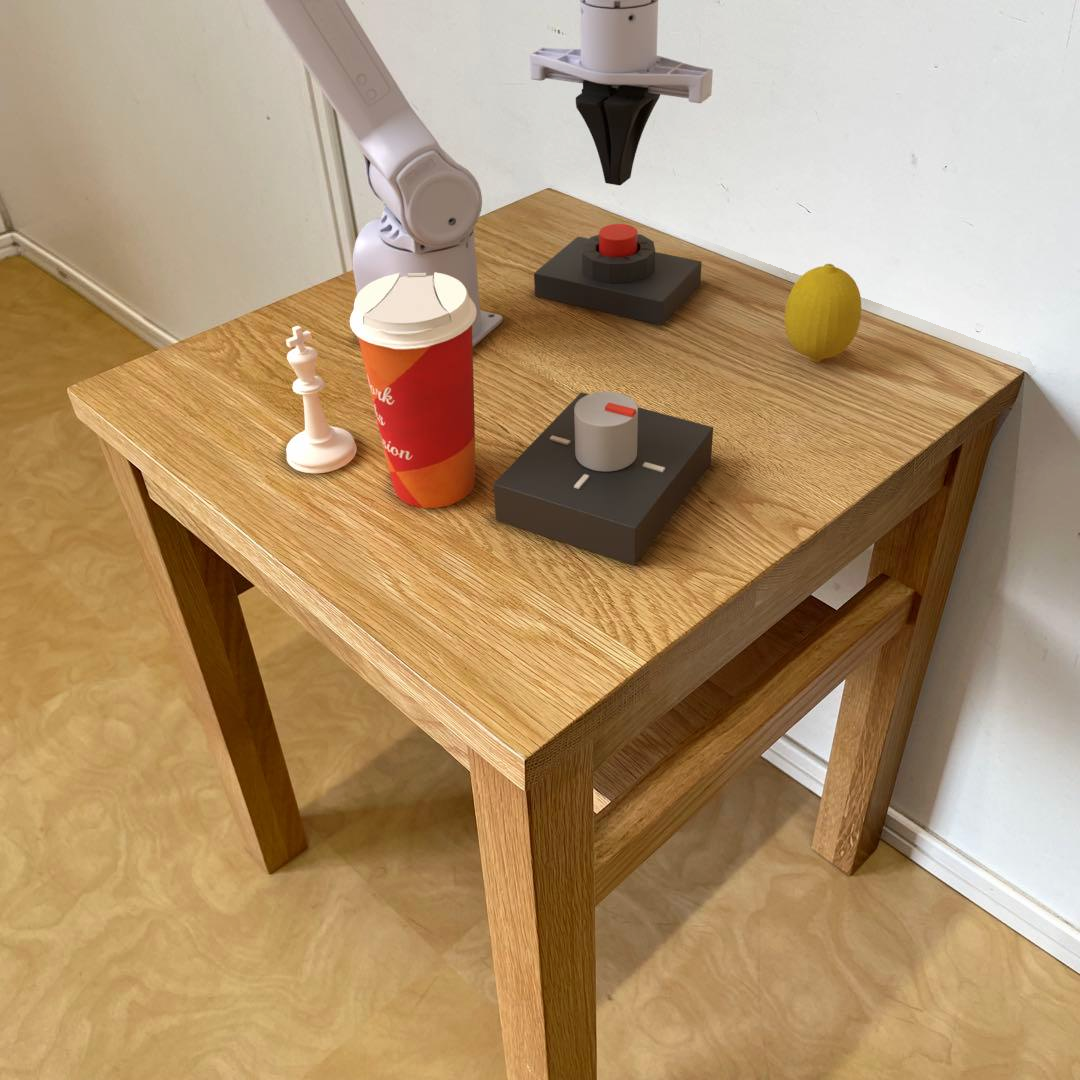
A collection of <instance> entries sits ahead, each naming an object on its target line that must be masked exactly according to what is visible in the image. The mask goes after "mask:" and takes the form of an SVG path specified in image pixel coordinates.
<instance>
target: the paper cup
mask: <svg viewBox="0 0 1080 1080" xmlns="http://www.w3.org/2000/svg"><path fill="white" fill-rule="evenodd" d="M353 303H354V304H353V310H352V312H351V313H350V317H349V325H350V329H351V331H352V332H353V333H354V334H355V336H356V337H357V336H358V338H357V340H358V343H359V348H360V351H361V356H362V360H363V363H364V368H365V369H364V370H365V374H366V378H367V382H368V387H369V390H370V396H371V399H372V403H373V408H374V409H373V410H374V412H375V417H376V422H377V425H378V431H379V434H380V439H381V444H382V447H383V451H384V456H385V461H386V465H387V468H388V473H389V476H390V480H391V484H392V488H393V490H394V493H395V495H396V496H397V497H398V499H399V500H401V501H402V502H403V503H405V504H407V505H409V506H412V507H416V508H421V509H437V508H443V507H448V506H451V505H453V504H456V503H458V502H461V501H462V500H464V499H465V498H467V496H468V495H469V494H470V493H471V492H472V491H473V489H474V487H475V483H476V425H475V424H476V423H475V421H476V420H475V386H474V385H475V383H474V352H473V351H474V349H473V348H474V346H473V344H472V324H473V322H474V320H475V318H476V315H477V310H476V306H475V304H474V303H473V301H472V300H471V298H470V297H469V295H468V292H467V289H466V288H465V287H464V285H463V284H462V283H461V282H460V281H459V280H457V279H455V278H453V277H451V276H448V275H445V274H441V273H436V272H435V273H434V279H433V275H429V276H426V273H408V276H400V273H397V274H393V275H389V276H385V277H383V278H380V279H377V280H375V281H373V282H371V283H370V284H368V285H366V286H365V287H364V288H363V289H361V291H360V292H359V293H358V295H357V294H356V297H355V298H354V302H353Z"/></svg>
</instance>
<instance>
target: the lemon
mask: <svg viewBox="0 0 1080 1080" xmlns="http://www.w3.org/2000/svg"><path fill="white" fill-rule="evenodd" d="M861 318H862V297H861V293H860V290H859V287H858V285H857V283H856V281H855V280H854V278H853V277H852V276H851V275H850V274H849V273H848V272H847V271H844V270H843V269H841V268H839V267H836V266H835V265H834V264H832V263H825V264H824V265H822V266H817V267H814V268H811V269H809V270H807V271H806V272H805V273H804V274H802V275H800V277H798V279H797V280H796V281H795V283H794V285H793V287H792V288H791V290H790V293H789V295H788V297H787V301H786V305H785V307H784V330H785V334H786V337H787V339H788V341H789V343H790V344H791V346H792V347H793V348H794V349H795V351H797V352H798V353H799V354H801V355H803V356H804V357H806V358H809V359H810V360H811V361H812V362H815V363H819V362H821V361H823V360H826V359H830V358H833V357H836V356H838V355H839V354H841V353H842V352H844V351H845V350H846V349H847V348H848V347H849V346H850V345H851V343H852V342H853V340H854V339H855V337H856V336H857V333H858V331H859V327H860V324H861Z"/></svg>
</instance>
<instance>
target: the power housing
mask: <svg viewBox="0 0 1080 1080" xmlns="http://www.w3.org/2000/svg"><path fill="white" fill-rule="evenodd" d="M702 265H703V261H701V260H697V259H693V258H687V257H683V256H677V255H672V254H667V253H662V252H658V251H656V247H655V242H654V241H653V240H651V238H648V237H647V236H645V235H643V234H639V233H637V253H636V254H633V255H630V256H627V257H614V258H613V257H609V256H604V255H602V254H600V253H599V234H596V235H593V236H590V237H589V238H588V237H583V236H576V237H575V238H574V239H573V240H571V241H570V242H569V243H568V244H567V245H566V246H564V247H563V248H562V249H561V250H559V251H558V253H556V254H554V256H553V257H551V259H549V260H548V261H546V262H545V263H544V264H542V265H541V267H539V268H538V269H537V270H536V271H535V272H534V273H533V280H534V281H533V283H534V297H537V298H542V299H546V300H550V301H554V302H559V303H563V304H567V305H571V306H576V307H581V308H585V309H589V310H593V311H598V312H603V313H607V314H611V315H615V316H619V317H623V318H628V319H633V320H637V321H640V322H641V321H642V322H647V323H650V324H655V325H658V326H663V325H664V324H665V323H666V322H667V320H669V319H670V317H672V316H673V314H674V313H675V312H676V311H677V310H678V309H679V308H680V307H681V306H682V305H683V304H684V302H685V301H687V300H688V299H689V297H690V296H691V295H692V294H693V293H694V292H695V291H696V290H697V289H698V288H699V287H700V286H701V281H702Z"/></svg>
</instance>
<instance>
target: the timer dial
mask: <svg viewBox="0 0 1080 1080" xmlns="http://www.w3.org/2000/svg"><path fill="white" fill-rule="evenodd" d="M588 394H589V395H587V396H584V397H583V398H581V399H580V400H579V401H578V402H577V403H576V405H575V408H574V420H575V455H576V458H577V460H578V462H579V463H580V464H581V465H583V466H584V467H586V468H589V469H591V470H595V471H602V472H610V471H617V470H621V469H623V468H626V467H628V466H629V465H631V464H632V463H633V462H634V460H635V459H636V457H637V431H638V404H637V402H636V401H635V400H634V399H633V398H632V397H630V396H628V395H626V394H624V393H621V392H616V391H598V392H592V393H588Z"/></svg>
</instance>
